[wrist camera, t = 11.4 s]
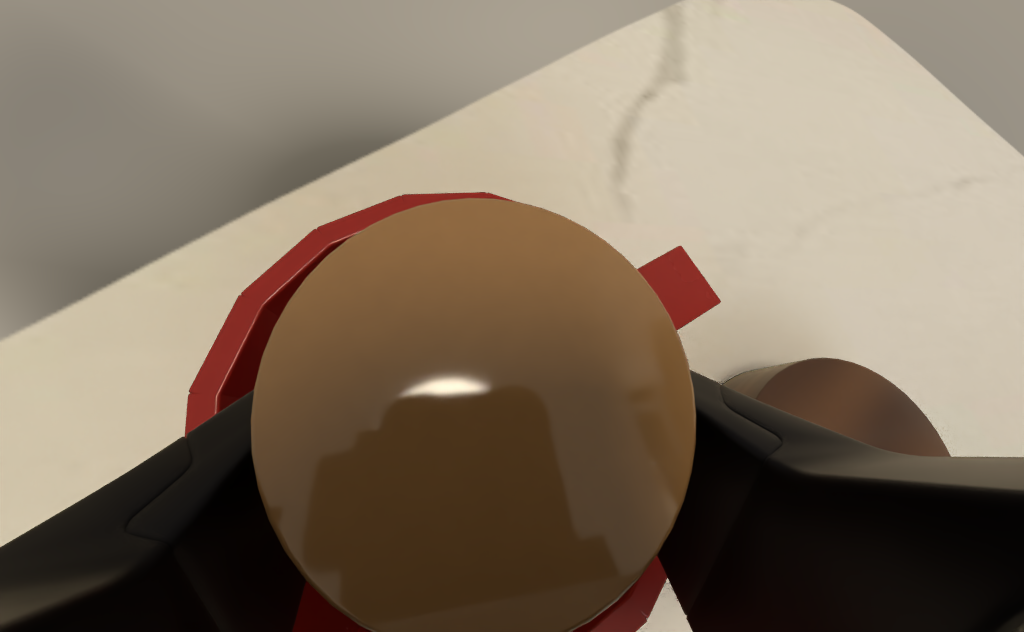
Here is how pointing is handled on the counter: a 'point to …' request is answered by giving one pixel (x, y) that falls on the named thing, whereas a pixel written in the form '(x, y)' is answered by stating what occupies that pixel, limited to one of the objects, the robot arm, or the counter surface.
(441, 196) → the pot
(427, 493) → the jar
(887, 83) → the counter surface
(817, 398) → the walnut block
